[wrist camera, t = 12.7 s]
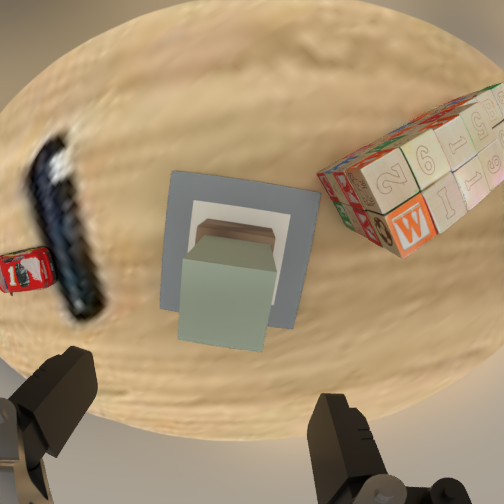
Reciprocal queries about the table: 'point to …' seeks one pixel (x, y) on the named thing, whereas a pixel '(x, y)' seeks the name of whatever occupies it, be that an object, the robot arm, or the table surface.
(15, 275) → the race car
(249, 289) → the sage block
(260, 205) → the board
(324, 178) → the stack of blocks
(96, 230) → the table surface
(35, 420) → the robot arm
